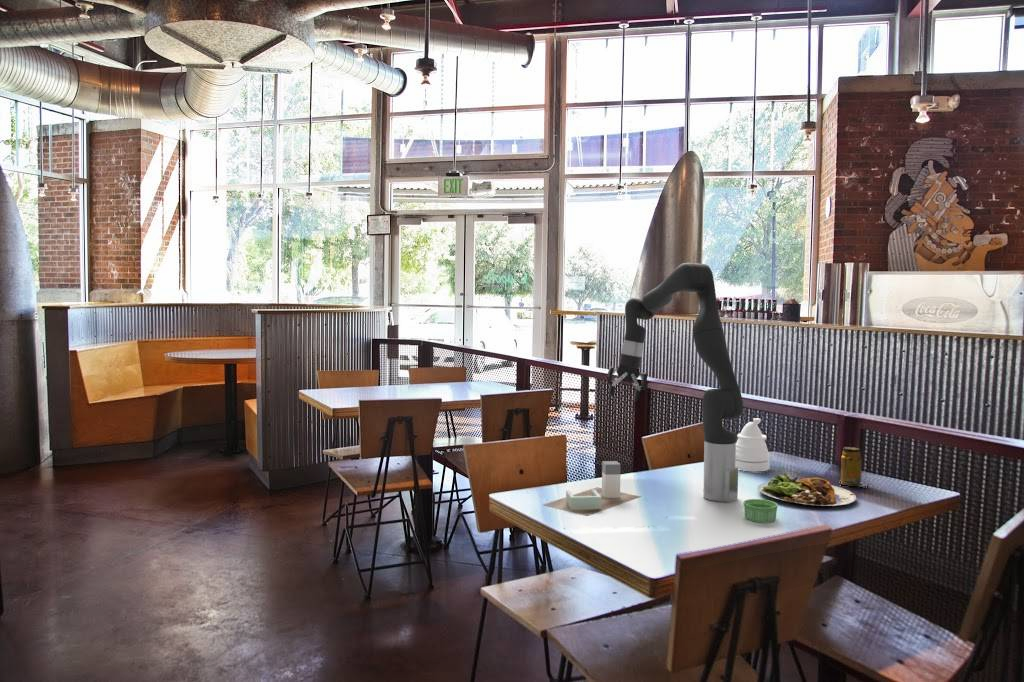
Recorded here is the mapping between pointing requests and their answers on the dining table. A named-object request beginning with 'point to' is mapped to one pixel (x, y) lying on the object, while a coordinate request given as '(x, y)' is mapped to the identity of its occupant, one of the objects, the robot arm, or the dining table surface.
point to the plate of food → (806, 491)
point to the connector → (611, 479)
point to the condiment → (851, 466)
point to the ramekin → (760, 510)
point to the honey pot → (752, 448)
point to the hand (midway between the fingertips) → (623, 398)
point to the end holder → (583, 501)
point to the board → (605, 502)
